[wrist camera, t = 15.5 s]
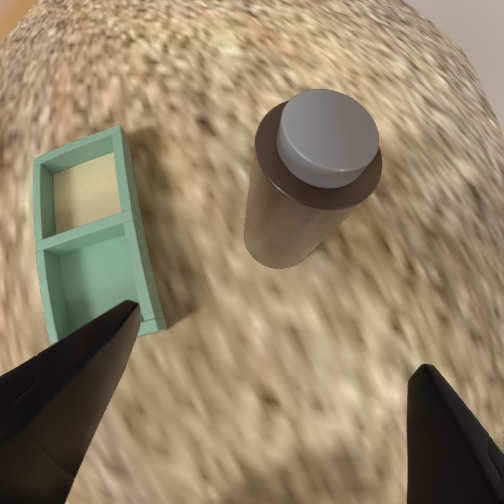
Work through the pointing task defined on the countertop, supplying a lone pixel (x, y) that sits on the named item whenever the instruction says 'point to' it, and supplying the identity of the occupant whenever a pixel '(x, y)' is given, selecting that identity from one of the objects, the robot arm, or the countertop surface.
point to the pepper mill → (308, 174)
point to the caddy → (91, 235)
